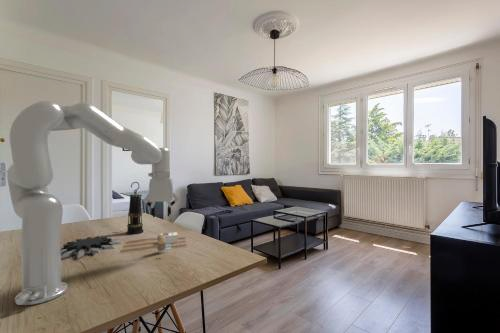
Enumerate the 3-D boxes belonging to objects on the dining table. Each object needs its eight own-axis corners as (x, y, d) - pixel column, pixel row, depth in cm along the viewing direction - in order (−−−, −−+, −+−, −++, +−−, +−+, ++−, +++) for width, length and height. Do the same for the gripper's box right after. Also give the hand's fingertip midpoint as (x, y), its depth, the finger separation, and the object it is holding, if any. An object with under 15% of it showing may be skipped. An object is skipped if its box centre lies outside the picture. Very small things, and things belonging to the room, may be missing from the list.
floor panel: (186, 249, 119) (186, 247, 119) (118, 256, 111) (118, 253, 111) (184, 237, 138) (184, 235, 138) (127, 242, 130) (127, 240, 130)
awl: (165, 255, 111) (165, 236, 111) (157, 256, 110) (157, 237, 110) (165, 253, 114) (165, 234, 114) (157, 254, 113) (157, 235, 113)
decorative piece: (88, 231, 138) (136, 234, 132) (88, 238, 138) (136, 241, 132) (29, 250, 109) (88, 254, 103) (30, 259, 109) (89, 264, 103)
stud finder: (177, 242, 126) (177, 234, 126) (160, 244, 123) (160, 235, 123) (177, 239, 130) (177, 231, 130) (160, 241, 128) (160, 233, 128)
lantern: (135, 235, 144) (135, 182, 143) (122, 233, 147) (122, 182, 146) (146, 231, 152) (146, 181, 152) (134, 230, 155) (133, 181, 155)
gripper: (138, 176, 106) (139, 219, 106) (181, 175, 111) (181, 216, 111) (141, 175, 113) (141, 215, 113) (180, 175, 118) (181, 213, 118)
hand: (161, 215), depth 112 cm, fingers open, 5 cm apart
